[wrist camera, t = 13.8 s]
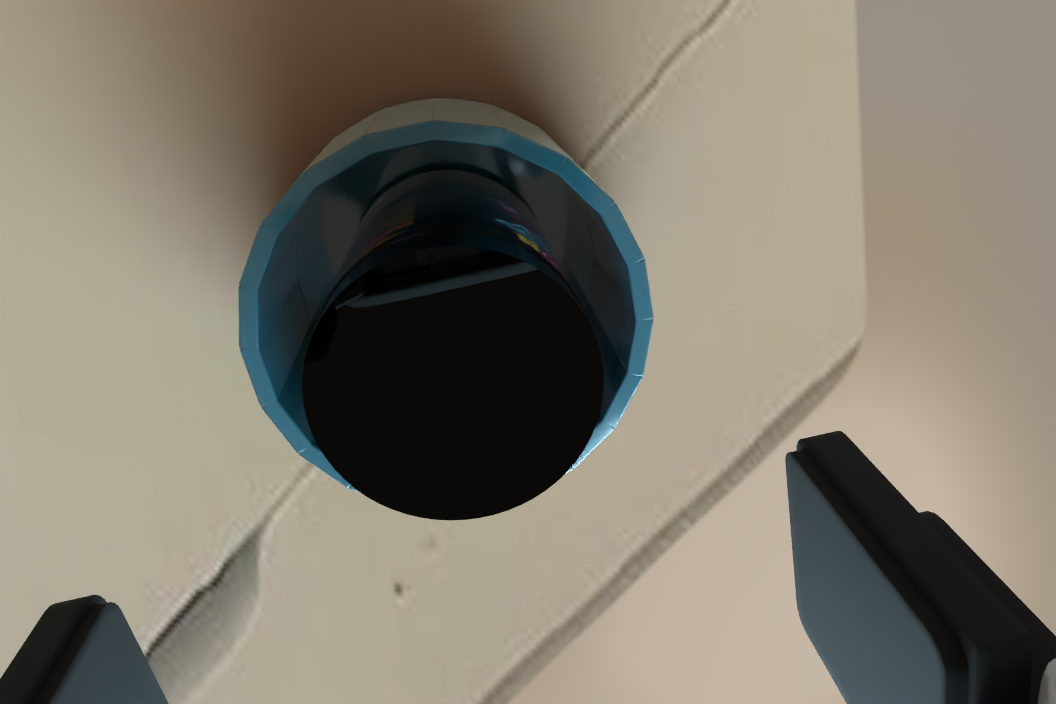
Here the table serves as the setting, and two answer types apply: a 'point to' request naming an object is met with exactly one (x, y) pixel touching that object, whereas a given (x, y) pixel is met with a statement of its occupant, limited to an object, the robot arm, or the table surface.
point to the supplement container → (451, 354)
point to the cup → (390, 157)
